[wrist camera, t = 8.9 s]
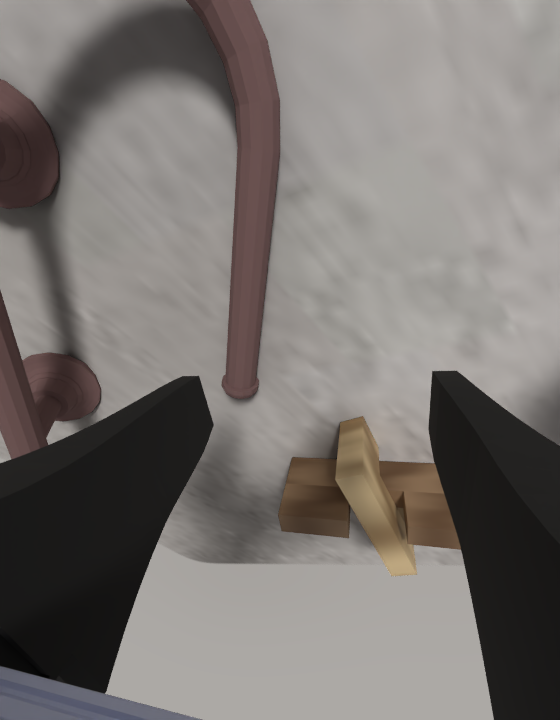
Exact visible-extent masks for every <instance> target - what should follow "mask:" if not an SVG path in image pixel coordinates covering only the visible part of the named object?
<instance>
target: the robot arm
mask: <svg viewBox="0 0 560 720" xmlns="http://www.w3.org/2000/svg"><path fill="white" fill-rule="evenodd" d="M213 425H214V424H213V421H212V418H211V415H210V411H209V408H208V405H207V401H206V398H205V395H204V391H203V388H202V385H201V381H200V378H199V376H182V377H180V378H178V379H175V380H173V381H171V382H169V383H168V384H166V385H164V386H162V387H160V388H158V389H157V390H155V391H153V392H151V393H150V394H148V395H146V396H144V397H143V398H141V399H139V400H137V401H136V402H134V403H132V404H130V405H129V406H127V407H125V408H123V409H121V410H120V411H118V412H116V413H114V414H112V415H110V416H108V417H107V418H105V419H103V420H101V421H99V422H97V423H95V424H93V425H92V426H90V427H88V428H85V429H83V430H81V431H79V432H77V433H75V434H73V435H71V436H68V437H66V438H64V439H62V440H59V441H57V442H55V443H53V444H50V445H48V446H45V447H43V448H40V449H37V450H35V451H32V452H30V453H27V454H25V455H22V456H19V457H17V458H14V459H12V460H9V461H6V462H3V463H0V720H201V719H197V718H194V717H190V716H186V715H182V714H179V713H175V712H171V711H167V710H164V709H160V708H156V707H152V706H149V705H145V704H141V703H137V702H133V701H130V700H126V699H122V698H118V697H115V696H111V695H107V694H105V692H106V691H107V687H108V684H109V680H110V677H111V673H112V670H113V666H114V663H115V660H116V657H117V653H118V651H119V647H120V644H121V641H122V638H123V634H124V631H125V628H126V625H127V622H128V619H129V616H130V614H131V611H132V608H133V605H134V602H135V599H136V596H137V594H138V591H139V588H140V585H141V583H142V580H143V577H144V575H145V572H146V570H147V567H148V565H149V562H150V559H151V557H152V554H153V552H154V549H155V547H156V545H157V542H158V540H159V538H160V535H161V533H162V530H163V528H164V526H165V523H166V521H167V519H168V517H169V515H170V513H171V511H172V509H173V507H174V506H175V504H176V502H177V500H178V498H179V496H180V495H181V493H182V491H183V489H184V487H185V486H186V484H187V482H188V480H189V478H190V476H191V475H192V473H193V471H194V469H195V467H196V465H197V463H198V462H199V460H200V458H201V456H202V454H203V452H204V450H205V447H206V445H207V442H208V440H209V437H210V434H211V431H212V428H213ZM429 435H430V441H431V447H432V452H433V458H434V462H435V465H436V469H437V472H438V475H439V478H440V482H441V485H442V488H443V491H444V495H445V498H446V501H447V504H448V507H449V510H450V514H451V517H452V520H453V523H454V526H455V530H456V533H457V536H458V540H459V543H460V547H461V551H462V555H463V559H464V564H465V569H466V573H467V579H468V583H469V588H470V593H471V598H472V603H473V608H474V613H475V618H476V624H477V629H478V634H479V639H480V644H481V650H482V655H483V660H484V666H485V672H486V677H487V683H488V687H489V694H490V699H491V705H492V711H493V716H494V720H560V446H559V445H557V444H555V443H554V442H552V441H551V440H549V439H547V438H546V437H544V436H543V435H541V434H540V433H538V432H537V431H535V430H534V429H532V428H531V427H529V426H528V425H526V424H525V423H524V422H522V421H521V420H519V419H518V418H516V417H515V416H514V415H512V414H511V413H510V412H508V411H507V410H505V409H504V408H503V407H501V406H500V405H499V404H498V403H496V402H495V401H494V400H492V399H491V398H490V397H489V396H487V395H486V394H485V393H484V392H482V391H481V390H480V389H479V388H477V387H476V386H475V385H474V384H472V383H471V382H470V381H469V380H468V379H466V378H465V377H464V376H463V375H461V374H460V373H459V372H457V371H432V385H431V400H430V415H429Z"/></svg>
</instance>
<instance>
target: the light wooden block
mask: <svg viewBox="0 0 560 720" xmlns="http://www.w3.org/2000/svg"><path fill="white" fill-rule="evenodd" d="M335 480H336V482H337V484H338V485H339V487H340V489H341V490H342V492H343V494H344V496H345V497H346V499H347V501H348V502H349V504H350V506H351V508H352V509H353V511H354V513H355V514H356V516H357V518H358V519H359V521H360V523H361V525H362V526H363V528H364V530H365V531H366V533H367V535H368V537H369V538H370V540H371V542H372V543H373V545H374V547H375V548H376V550H377V552H378V554H379V555H380V557H381V559H382V560H383V562H384V564H385V566H386V567H387V569H388V571H389V572H390V574H391V576H402V575H416V574H417V570H416V563H415V555H414V547H413V545H412V544H407V536H406V528H405V519H404V511H403V508H397V507H396V505H395V503H394V501H393V500H392V498H391V496H390V494H389V492H388V490H387V488H386V486H385V484H384V482H383V480H382V478H381V476H380V470H379V451H378V446H377V444H376V442H375V440H374V438H373V436H372V434H371V432H370V430H369V427H368V425H367V423H366V421H365V419H364V417H363V416H362V417H358V418H355V419H351V420H347V421H344V422H340V432H339V443H338V454H337V465H336V476H335Z"/></svg>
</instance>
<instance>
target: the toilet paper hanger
mask: <svg viewBox="0 0 560 720" xmlns="http://www.w3.org/2000/svg"><path fill="white" fill-rule="evenodd" d="M186 1H187V2H188V3H189V5H190V6H191V7H192V8H193V10H194V11H195V12H196V13H197V15H198V16H199V17H200V18H201V20H202V22H203V24H204V26H205V28H206V30H207V32H208V34H209V36H210V38H211V40H212V42H213V44H214V46H215V48H216V50H217V52H218V54H219V56H220V58H221V60H222V62H223V64H224V67H225V71H226V74H227V78H228V82H229V85H230V89H231V93H232V96H233V100H234V104H235V109H236V126H237V143H238V152H237V171H236V190H235V209H234V228H233V247H232V266H231V285H230V304H229V323H228V342H227V361H226V375H224V376H223V379H222V387H223V389H224V391H225V392H226V394H227V395H229V396H231V397H233V398H239V399H244V398H248V397H251V396H252V395H253V394H255V393H256V391H257V390H258V385H259V380H258V378H257V377H256V372H257V362H258V353H259V344H260V334H261V325H262V316H263V307H264V297H265V288H266V279H267V270H268V260H269V251H270V242H271V232H272V223H273V214H274V205H275V195H276V186H277V177H278V167H279V158H280V98H279V94H278V89H277V84H276V79H275V75H274V70H273V65H272V60H271V56H270V51H269V46H268V41H267V39H266V36H265V34H264V32H263V29H262V27H261V25H260V22H259V20H258V18H257V15H256V13H255V11H254V8H253V6H252V4H251V1H250V0H186ZM58 178H59V153H58V150H57V147H56V144H55V141H54V138H53V135H52V132H51V129H50V126H49V125H48V123H47V122H46V120H45V119H44V117H43V116H42V114H41V113H40V111H39V110H38V108H37V107H36V106H35V104H34V103H33V102H32V101H31V100H30V99H28V98H27V97H26V96H24V95H23V94H22V93H21V92H19V91H18V90H17V89H15V88H14V87H13V86H11V85H10V84H9V83H8V82H6V81H4V80H1V79H0V207H3V208H7V209H10V208H20V207H30V206H33V205H35V204H37V203H38V202H40V201H42V200H43V199H45V198H46V197H48V196H50V195H51V194H52V192H53V190H54V187H55V185H56V183H57V181H58ZM100 394H101V388H100V385H99V383H98V380H97V378H96V375H95V374H94V373H93V372H92V370H91V369H90V368H89V367H88V366H87V365H86V364H85V363H84V362H82V361H79V360H77V359H75V358H73V357H71V356H69V355H63V354H56V353H42V354H36V355H31V356H29V357H27V358H26V359H24V360H22V359H21V356H20V352H19V349H18V346H17V343H16V339H15V336H14V333H13V330H12V326H11V323H10V320H9V317H8V314H7V310H6V307H5V304H4V301H3V297H2V294H1V291H0V431H1V433H2V436H3V438H4V441H5V444H6V446H7V449H8V451H9V454H10V456H11V459H14V458H17V457H19V456H22V455H25V454H27V453H30V452H32V451H35V450H37V449H40V448H43V447H45V446H48V443H47V439H46V437H47V435H48V433H49V431H50V429H51V427H52V425H53V423H54V421H69V420H74V419H80V418H82V417H83V416H85V415H87V414H89V413H91V412H92V411H93V410H94V408H95V407H96V406H97V404H98V403H99V401H100Z"/></svg>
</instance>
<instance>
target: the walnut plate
mask: <svg viewBox="0 0 560 720" xmlns="http://www.w3.org/2000/svg"><path fill="white" fill-rule="evenodd" d="M336 465H337V459H319V458H296V457H292V461H291V465H290V469H289V473H288V477H287V481H286V485H285V489H284V493H283V497H282V501H281V505H280V509H279V513H278V517H279V521H280V525H281V530H282V531H284V532H294V533H304V534H314V535H324V536H333V537H343V538H349V527H350V504H349V502H348V501H347V499H346V497H345V496H344V494H343V492H342V490H341V489H340V487H339V485H338V484H337V482H336V480H335V476H336ZM379 470H380V476H381V478H382V480H383V482H384V484H385V486H386V488H387V490H388V492H389V494H390V496H391V498H392V500H393V501H394V503H395V505H396V507H397V508H403V511H404V519H405V528H406V536H407V544H412V545H422V546H432V547H441V548H451V549H461V547H460V543H459V540H458V536H457V533H456V530H455V526H454V523H453V520H452V517H451V514H450V510H449V507H448V504H447V501H446V498H445V495H444V491H443V488H442V485H441V482H440V478H439V475H438V472H437V469H436V465H435V464H433V463H410V462H388V461H379Z"/></svg>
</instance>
